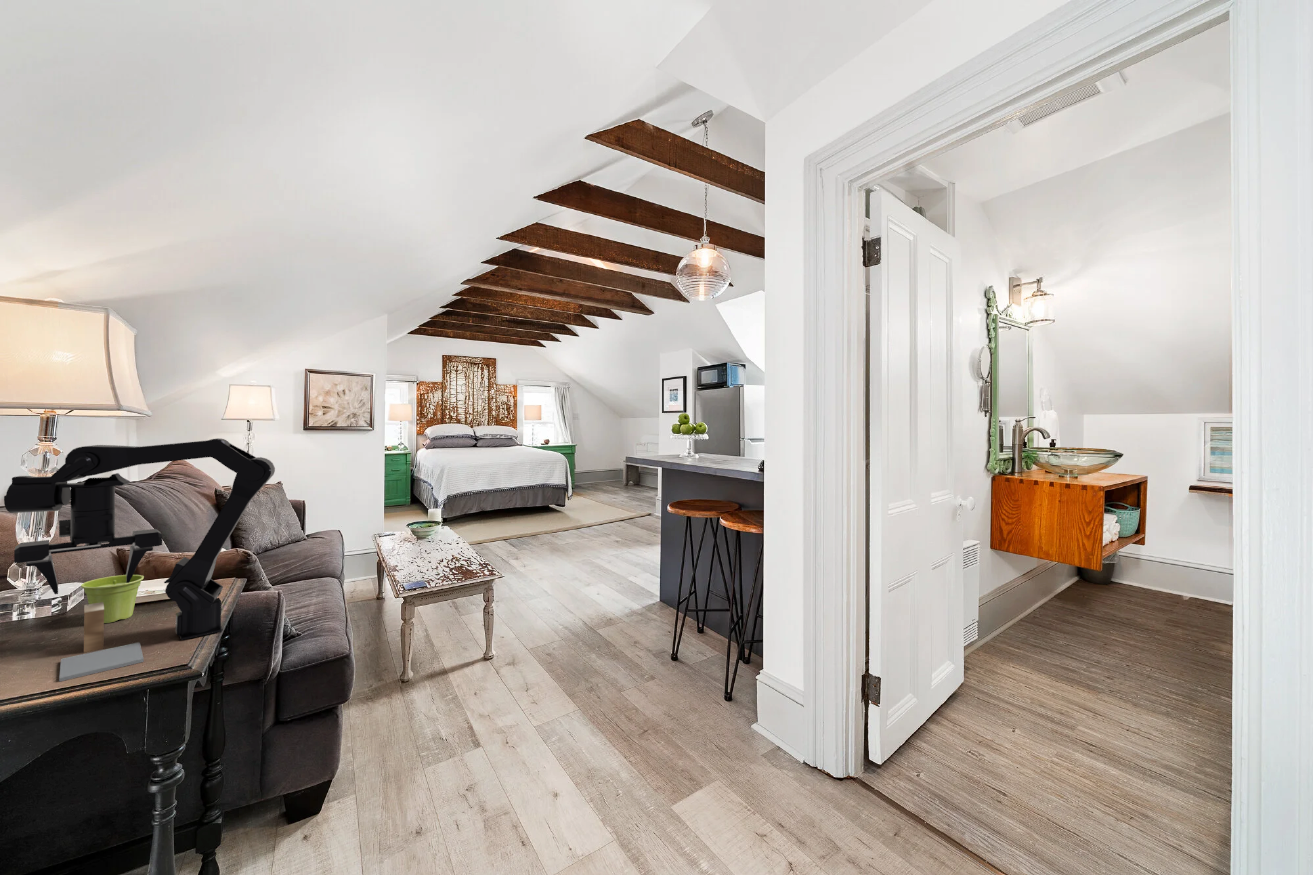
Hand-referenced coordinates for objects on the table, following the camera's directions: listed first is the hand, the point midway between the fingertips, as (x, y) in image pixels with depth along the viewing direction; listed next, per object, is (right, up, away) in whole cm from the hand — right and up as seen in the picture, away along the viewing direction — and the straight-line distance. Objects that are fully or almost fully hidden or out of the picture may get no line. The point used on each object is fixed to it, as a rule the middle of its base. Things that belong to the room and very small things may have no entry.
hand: (93, 587), depth 96 cm
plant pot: (-12, -11, +14) cm, 21 cm away
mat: (+8, -12, -5) cm, 15 cm away
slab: (0, -12, 0) cm, 12 cm away
